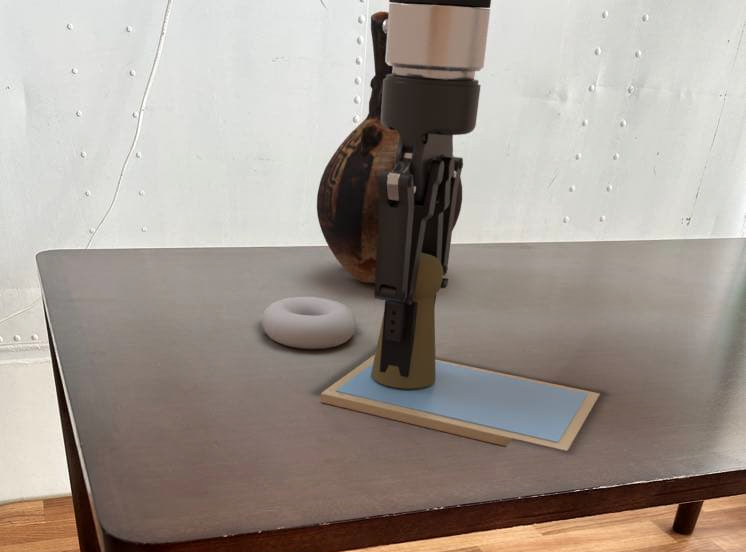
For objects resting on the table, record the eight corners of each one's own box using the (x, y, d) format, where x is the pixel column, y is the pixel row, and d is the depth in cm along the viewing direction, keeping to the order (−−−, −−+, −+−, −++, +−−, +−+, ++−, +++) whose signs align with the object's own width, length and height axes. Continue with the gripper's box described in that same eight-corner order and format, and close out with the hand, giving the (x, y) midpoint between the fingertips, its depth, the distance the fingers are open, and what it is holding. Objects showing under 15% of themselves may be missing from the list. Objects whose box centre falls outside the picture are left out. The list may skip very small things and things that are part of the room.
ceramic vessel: (372, 254, 120) (388, 13, 104) (478, 276, 112) (513, 19, 96) (284, 281, 106) (287, 5, 89) (399, 310, 98) (425, 12, 81)
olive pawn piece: (358, 376, 75) (366, 253, 69) (392, 359, 79) (403, 242, 73) (414, 394, 72) (428, 267, 66) (447, 375, 76) (462, 254, 71)
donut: (370, 335, 90) (290, 316, 93) (372, 303, 88) (291, 286, 91) (328, 362, 82) (243, 341, 85) (331, 328, 80) (243, 308, 83)
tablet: (598, 402, 76) (600, 392, 75) (565, 461, 65) (567, 449, 65) (382, 356, 84) (382, 347, 83) (320, 402, 73) (320, 391, 72)
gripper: (426, 67, 70) (401, 332, 83) (340, 72, 57) (327, 386, 70) (510, 74, 68) (472, 346, 80) (441, 80, 55) (408, 405, 67)
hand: (404, 364), depth 75 cm, fingers closed on olive pawn piece, 4 cm apart
